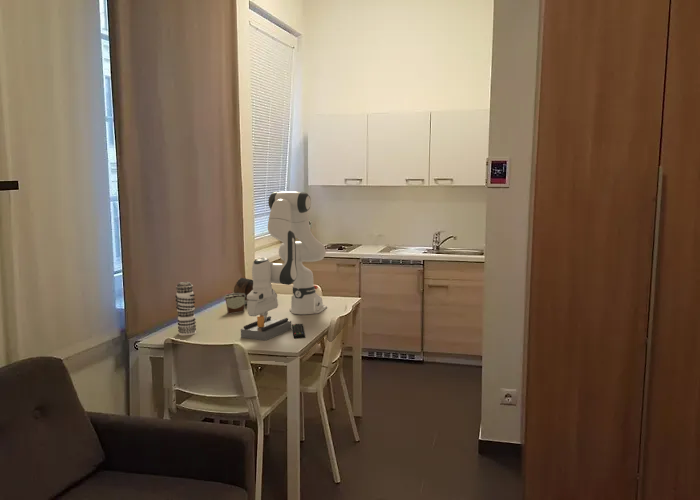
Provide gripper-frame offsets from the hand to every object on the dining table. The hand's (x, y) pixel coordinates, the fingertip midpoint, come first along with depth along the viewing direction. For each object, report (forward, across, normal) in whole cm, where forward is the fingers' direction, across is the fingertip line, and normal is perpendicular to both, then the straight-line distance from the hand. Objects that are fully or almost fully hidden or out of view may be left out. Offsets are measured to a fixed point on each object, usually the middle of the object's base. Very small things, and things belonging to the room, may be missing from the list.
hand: (264, 321), depth 289 cm
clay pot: (+7, -56, -44) cm, 72 cm away
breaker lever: (+2, +3, 0) cm, 3 cm away
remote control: (+7, -10, +13) cm, 18 cm away
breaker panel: (+6, -2, 0) cm, 7 cm away
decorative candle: (+6, +12, -37) cm, 40 cm away
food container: (+7, -34, -44) cm, 56 cm away
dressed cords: (+2, -2, 0) cm, 3 cm away
